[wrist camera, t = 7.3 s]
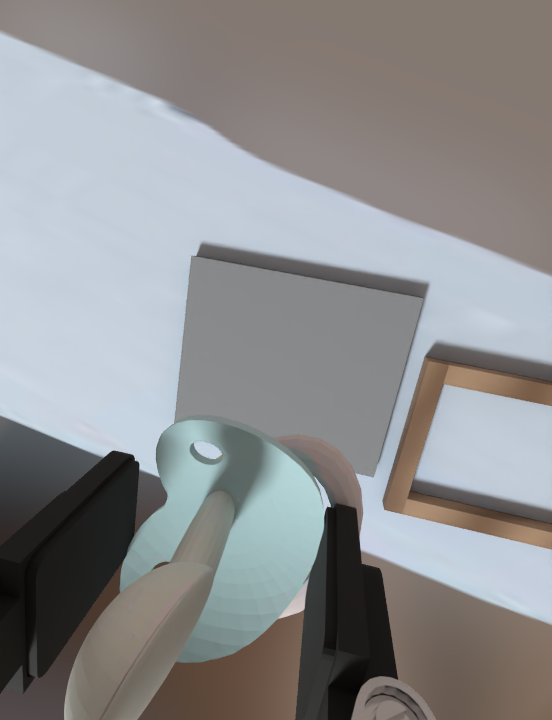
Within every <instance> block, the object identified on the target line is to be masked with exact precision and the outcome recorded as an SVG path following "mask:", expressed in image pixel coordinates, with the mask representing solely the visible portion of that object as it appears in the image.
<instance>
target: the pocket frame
mask: <svg viewBox="0 0 552 720" xmlns="http://www.w3.org/2000/svg"><path fill="white" fill-rule="evenodd" d="M443 384H446V385H451V386H456V387H461V388H466V389H471V390H475V391H480V392H485V393H490V394H495V395H500V396H505V397H510V398H515V399H520V400H525V401H530V402H535V403H539V404H544V405H549V406H552V382H550V381H545V380H540V379H535V378H530V377H525V376H519V375H514V374H509V373H504V372H499V371H494V370H489V369H484V368H479V367H474V366H469V365H464V364H459V363H454V362H449V361H443V360H438V359H433V358H428V357H425V358H424V361H423V365H422V368H421V371H420V375H419V378H418V382H417V385H416V388H415V392H414V395H413V399H412V402H411V405H410V409H409V412H408V416H407V419H406V422H405V426H404V429H403V433H402V436H401V439H400V443H399V446H398V450H397V453H396V456H395V460H394V463H393V467H392V470H391V473H390V477H389V480H388V484H387V487H386V490H385V494H384V497H383V506H384V510H387V511H391V512H396V513H400V514H404V515H408V516H413V517H417V518H421V519H425V520H429V521H434V522H438V523H442V524H446V525H451V526H455V527H459V528H463V529H468V530H472V531H476V532H480V533H484V534H489V535H493V536H497V537H501V538H506V539H510V540H514V541H518V542H523V543H527V544H531V545H535V546H539V547H544V548H548V549H552V524H549V523H545V522H541V521H536V520H532V519H528V518H523V517H519V516H515V515H510V514H506V513H501V512H497V511H493V510H488V509H484V508H480V507H475V506H471V505H467V504H462V503H458V502H454V501H449V500H445V499H441V498H436V497H432V496H428V495H423V494H419V493H415V492H410V488H411V485H412V482H413V479H414V475H415V472H416V469H417V466H418V463H419V459H420V456H421V453H422V450H423V447H424V444H425V440H426V437H427V434H428V431H429V428H430V425H431V421H432V418H433V415H434V412H435V409H436V406H437V402H438V399H439V396H440V393H441V390H442V386H443Z"/></svg>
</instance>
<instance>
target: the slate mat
mask: <svg viewBox="0 0 552 720" xmlns="http://www.w3.org/2000/svg"><path fill="white" fill-rule="evenodd" d="M423 300H424V298H422V297H417V296H412V295H406V294H401V293H395V292H390V291H385V290H379V289H374V288H368V287H363V286H357V285H352V284H346V283H341V282H335V281H330V280H325V279H319V278H314V277H308V276H303V275H297V274H292V273H286V272H281V271H275V270H270V269H265V268H259V267H254V266H248V265H243V264H237V263H232V262H226V261H221V260H215V259H210V258H205V257H199V256H191V265H190V275H189V285H188V294H187V304H186V314H185V324H184V333H183V343H182V353H181V363H180V373H179V382H178V392H177V402H176V412H175V421H174V423H175V422H177V421H178V420H180V419H182V418H185V417H188V416H192V415H214V416H219V417H224V418H227V419H231V420H234V421H238V422H241V423H244V424H246V425H248V426H251V427H253V428H255V429H257V430H259V431H261V432H263V433H265V434H267V435H269V436H270V437H272V438H276V437H281V436H289V435H296V434H301V435H306V436H311V437H316V438H321V439H322V440H324V441H325V442H327V443H329V444H330V445H332V446H334V447H335V448H337V449H338V450H339V451H340V452H341V453H342V454H343V456H344V457H345V458H346V459H347V461H348V462H349V463H350V464H351V466H352V467H353V469H354V472H355V473H357V474H361V475H366V476H370V477H374V475H375V471H376V467H377V464H378V460H379V457H380V453H381V450H382V446H383V442H384V439H385V435H386V432H387V428H388V425H389V421H390V417H391V414H392V410H393V407H394V403H395V400H396V396H397V392H398V389H399V385H400V382H401V378H402V375H403V371H404V367H405V364H406V360H407V357H408V353H409V350H410V346H411V342H412V339H413V335H414V332H415V328H416V325H417V321H418V317H419V314H420V310H421V307H422V303H423Z"/></svg>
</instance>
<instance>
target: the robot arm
mask: <svg viewBox="0 0 552 720" xmlns="http://www.w3.org/2000/svg"><path fill="white" fill-rule="evenodd" d="M138 477H139V462H138V461H135V458H134V456H133V455H131V454H127V453H123V452H119V451H112V452H110V453H109V454H108V455H107V456H105V457H104V458H103V459H102V460H101V461H100V462H99V463H98V464H97V465H95V466H94V467H93V468H92V469H91V470H90V471H88V472H87V473H86V474H85V475H84V476H83V477H82V478H81V479H79V480H78V481H77V482H76V483H75V484H74V485H73V486H71V487H70V488H69V489H68V490H67V491H64V492H63V493H61V494H60V495H58V496H57V497H56V498H55V499H54V500H53V501H51V503H49V504H48V505H47V506H46V507H45V508H43V509H42V510H41V511H40V512H39V513H38V514H36V516H34V517H33V518H32V519H31V520H30V521H29V522H27V523H26V524H25V525H24V526H23V527H22V528H20V529H19V530H18V531H17V532H16V533H15V534H14V535H12V536H11V537H10V538H9V539H8V540H7V541H6V542H4V543H3V544H2V545H1V546H0V693H1V692H2V690H3V689H4V688H5V689H8V690H12V691H15V692H18V693H22V694H24V692H25V691H26V689H27V688H28V687H29V685H30V684H31V682H32V681H33V679H34V678H35V677H38V678H40V677H42V676H43V675H44V674H45V673H46V672H47V671H48V669H49V667H50V666H51V665H52V663H53V662H54V661H55V659H56V658H57V656H58V655H59V653H60V652H61V650H62V649H63V647H64V646H65V645H66V643H67V642H68V640H69V639H70V637H71V636H72V634H73V633H74V631H75V630H76V628H77V627H78V626H79V624H80V623H81V621H82V620H83V618H84V617H85V616H86V614H87V613H88V611H89V610H90V608H91V607H92V605H93V604H94V602H95V601H96V599H97V598H98V597H99V595H100V594H101V592H102V590H103V589H104V587H105V586H106V585H107V584H108V582H109V581H110V579H111V578H112V576H113V575H114V573H115V572H116V570H117V569H118V568H119V566H120V565H121V563H122V561H123V560H124V559H125V557H126V556H127V551H128V547H129V545H130V543H131V541H132V539H133V537H134V530H135V517H136V504H137V491H138ZM301 647H302V648H301V658H300V670H299V682H298V696H297V706H296V719H295V720H436V719H435V717H434V715H433V714H432V712H431V710H430V709H429V707H428V705H427V704H426V702H425V701H424V700H423V699H422V698H421V697H420V696H419V695H418V694H417V693H416V691H414V690H413V689H412V688H410V687H409V686H408V685H406V684H405V683H404V682H401V681H399V680H398V676H397V670H396V664H395V657H394V651H393V643H392V637H391V630H390V624H389V617H388V611H387V604H386V598H385V591H384V585H383V578H382V573H381V570H380V569H379V568H376V567H372V566H368V565H365V564H362V562H361V551H360V540H359V529H358V518H357V509H356V508H355V507H351V506H346V505H342V504H338V503H336V504H335V506H334V508H331V507H327V508H326V511H325V516H324V530H323V534H322V537H321V541H320V544H319V548H318V552H317V555H316V559H315V561H314V564H313V566H312V568H311V573H310V577H309V581H308V585H307V590H306V598H305V609H304V621H303V633H302V646H301Z"/></svg>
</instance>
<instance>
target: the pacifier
mask: <svg viewBox="0 0 552 720" xmlns="http://www.w3.org/2000/svg"><path fill="white" fill-rule="evenodd" d="M197 441H203V442H208V443H210V444H213V445H214V446H216V447H217V448H219V450H220V451H221V452H222V455H221V456H220V457H218V458H217V459H209V458H206V457H204V456H202V455H200V454H199V453H198V452H197V451H196V450H195V447H194V442H197ZM156 463H157V468H158V473H159V475H160V478H161V481H162V484H163V486H164V488H165V490H166V491H167V494H168V499H167V502H166V504H165V505H164V506H162V507H161V508H159V509H158V510H157V511H156V512H155V513H154V514H153V515H151V516H150V518H148V519H147V520H146V522H145V523H143V524H142V526H141V527H140V528H139V530H138V531H137V533H136V534H135V535H134V537H133V539H132V541H131V543H130V545H129V547H128V551H127V556H126V557H125V559H124V562H123V566H122V569H121V581H120V594H119V595H118V596H117V597H116V598H115V599H114V600H113V601H112V602H111V603H110V604H109V606H108V607H107V608H106V609H105V610H104V612H103V613H102V614H101V615H100V617H99V618H98V620H97V621H96V623H95V624H94V625H93V627H92V629H91V630H90V632H89V633H88V635H87V637H86V639H85V641H84V643H83V644H82V646H81V649H80V651H79V653H78V655H77V658H76V660H75V663H74V666H73V669H72V672H71V674H70V678H69V682H68V686H67V692H66V698H65V708H64V710H65V711H64V720H137V719H138V717H139V716H140V715H141V713H142V712H143V710H144V709H145V708H146V706H147V705H148V704H149V702H150V701H151V699H152V698H153V696H154V695H155V693H156V692H157V690H158V689H159V687H160V686H161V684H162V683H163V681H164V680H165V678H166V676H167V675H168V673H169V672H170V669H171V668H172V667H173V665H174V663H175V662H182V663H188V662H204V661H207V660H210V659H218V658H220V657H224V656H227V655H230V654H233V653H235V652H236V651H238V650H239V649H241V648H243V647H244V646H246V645H248V644H250V643H251V642H253V641H254V640H255V639H256V638H258V637H259V636H260V635H261V634H262V633H264V632H265V631H266V630H267V629H268V628H269V627H270V626H271V625H272V624H273V623H274V622H275V621H276V619H278V618H282V617H286V616H289V615H292V614H295V613H298V612H301V611H302V610H304V609H305V598H306V590H307V585H308V581H309V577H310V573H311V568H312V566H313V564H314V561H315V559H316V555H317V552H318V548H319V544H320V541H321V537H322V534H323V530H324V508H323V502H322V497H321V493H320V489H319V487H318V485H317V482H316V480H315V478H314V476H315V477H316V478H317V480H318V481H319V482H320V483H321V485H322V486H323V487H324V489H325V490H326V493H327V496H328V499H329V501H330V504H331V508H334V506H335V504H336V503H338V504H342V505H346V506H351V507H355V508H356V509H357V518H358V529H359V536H360V530H361V524H362V517H363V506H362V494H361V488H360V485H359V482H358V480H357V477H356V474H355V472H354V469H353V467H352V466H351V464H350V463H349V462H348V461H347V459H346V458H345V457H344V456H343V454H342V453H341V452H340V451H339V450H338V449H337V448H335V447H334V446H332V445H330V444H329V443H327V442H325V441H324V440H322V439H321V438H316V437H311V436H306V435H301V434H296V435H289V436H281V437H276V438H272V437H270V436H269V435H267V434H265V433H263V432H261V431H259V430H257V429H255V428H253V427H251V426H248V425H246V424H244V423H241V422H238V421H234V420H231V419H227V418H224V417H219V416H214V415H192V416H188V417H185V418H182V419H180V420H178V421H177V422H175V423H174V424H173V425H171V426H170V427H169V428H167V429H166V430H165V431H164V432H163V433H162V434H161V436H160V438H159V441H158V444H157V447H156ZM165 561H167V562H170V563H169V564H168V565H165V566H162V567H159V568H157V569H154V570H153V568H154V566H155V565H156V564H158V563H160V562H165Z"/></svg>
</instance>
